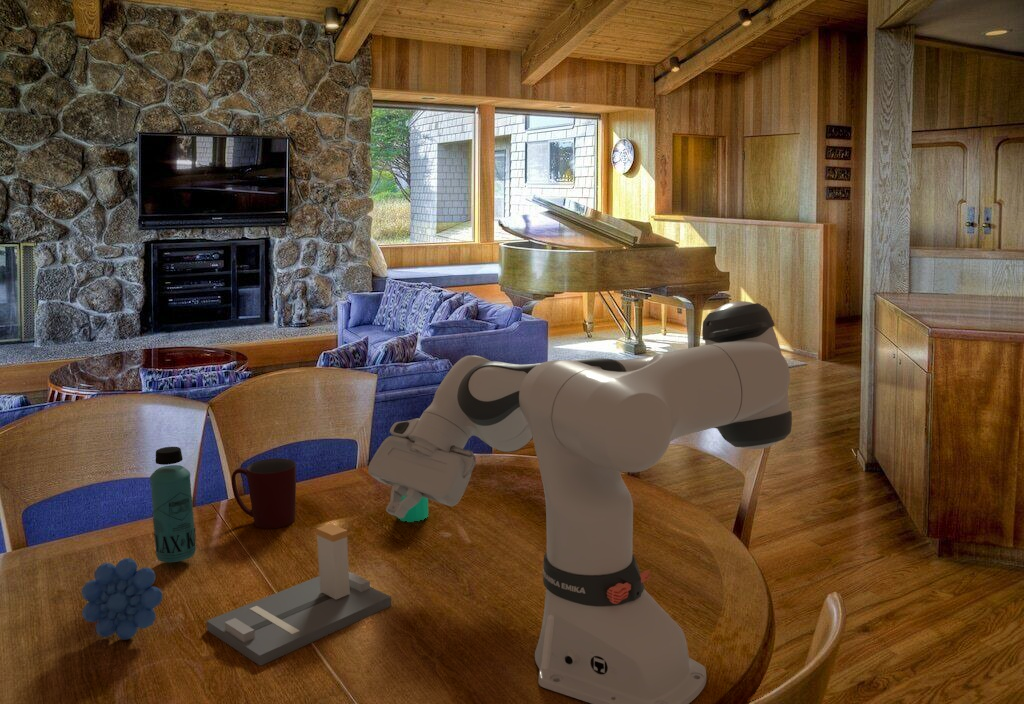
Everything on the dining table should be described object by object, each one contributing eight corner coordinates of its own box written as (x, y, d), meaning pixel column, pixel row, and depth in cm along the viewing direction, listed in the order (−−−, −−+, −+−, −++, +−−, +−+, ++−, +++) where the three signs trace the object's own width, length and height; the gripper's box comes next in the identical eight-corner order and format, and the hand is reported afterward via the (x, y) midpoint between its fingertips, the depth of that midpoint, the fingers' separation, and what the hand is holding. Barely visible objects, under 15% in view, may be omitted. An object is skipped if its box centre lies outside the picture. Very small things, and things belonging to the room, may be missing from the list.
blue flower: (180, 624, 123) (173, 546, 120) (157, 649, 116) (149, 566, 114) (102, 622, 124) (94, 544, 121) (75, 646, 117) (66, 565, 115)
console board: (391, 605, 127) (390, 589, 127) (260, 666, 112) (259, 647, 111) (335, 578, 137) (334, 562, 136) (207, 630, 121) (205, 612, 120)
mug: (226, 530, 157) (222, 473, 155) (243, 512, 166) (239, 458, 164) (291, 530, 157) (287, 473, 155) (304, 513, 165) (301, 458, 163)
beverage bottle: (147, 566, 142) (136, 451, 138) (180, 552, 148) (170, 441, 144) (175, 574, 139) (164, 456, 135) (206, 559, 145) (197, 445, 141)
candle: (423, 523, 159) (421, 461, 157) (393, 521, 161) (390, 460, 158) (432, 511, 165) (430, 451, 163) (403, 509, 166) (400, 450, 164)
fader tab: (350, 593, 128) (347, 530, 126) (336, 599, 126) (332, 535, 124) (334, 585, 131) (330, 523, 129) (319, 591, 129) (316, 528, 127)
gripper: (490, 463, 136) (448, 540, 131) (409, 440, 150) (367, 509, 145) (469, 443, 132) (424, 521, 127) (387, 421, 146) (344, 491, 141)
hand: (393, 514), depth 136 cm, fingers closed
